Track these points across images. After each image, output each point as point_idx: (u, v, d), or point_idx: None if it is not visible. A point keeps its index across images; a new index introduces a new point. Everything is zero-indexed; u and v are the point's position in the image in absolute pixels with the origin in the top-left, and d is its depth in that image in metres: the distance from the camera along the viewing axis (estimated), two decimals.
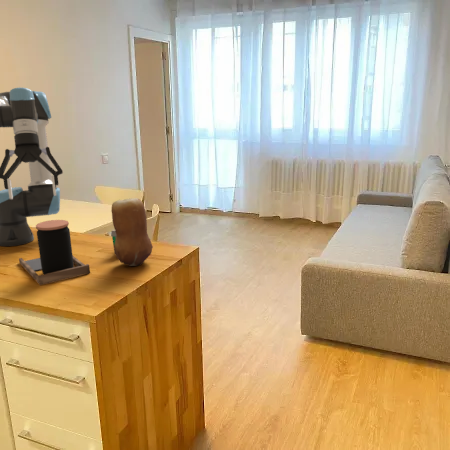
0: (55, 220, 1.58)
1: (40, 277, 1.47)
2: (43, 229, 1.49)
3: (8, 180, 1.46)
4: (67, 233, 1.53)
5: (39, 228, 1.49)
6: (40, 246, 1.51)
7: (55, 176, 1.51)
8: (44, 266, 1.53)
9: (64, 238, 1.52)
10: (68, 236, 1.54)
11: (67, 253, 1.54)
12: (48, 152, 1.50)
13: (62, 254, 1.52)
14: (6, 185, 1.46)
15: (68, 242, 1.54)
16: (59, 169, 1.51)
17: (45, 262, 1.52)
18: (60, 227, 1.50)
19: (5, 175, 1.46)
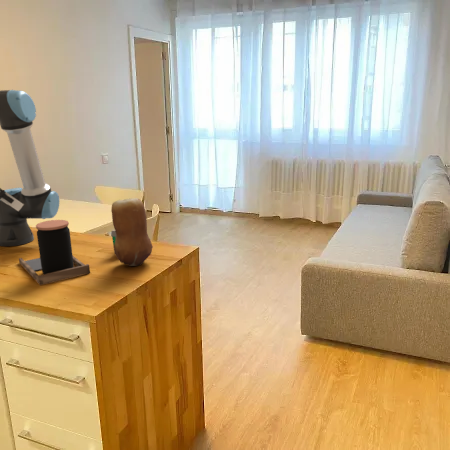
0: (55, 220, 1.58)
1: (40, 277, 1.47)
2: (43, 229, 1.49)
3: None
4: (67, 233, 1.53)
5: (39, 228, 1.49)
6: (40, 246, 1.51)
7: (2, 198, 1.35)
8: (44, 266, 1.53)
9: (64, 238, 1.52)
10: (68, 236, 1.54)
11: (67, 253, 1.54)
12: None
13: (62, 254, 1.52)
14: None
15: (68, 242, 1.54)
16: None
17: (45, 262, 1.52)
18: (60, 227, 1.50)
19: None
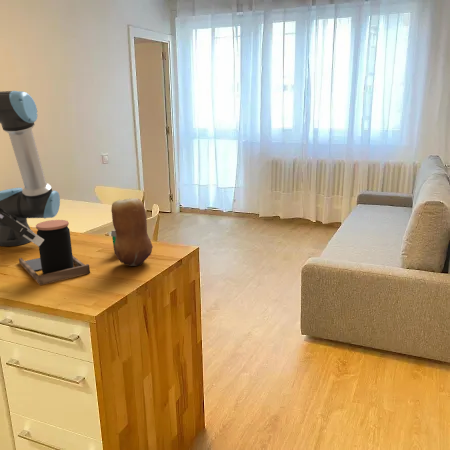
0: (55, 220, 1.58)
1: (40, 277, 1.47)
2: (43, 229, 1.49)
3: None
4: (67, 233, 1.53)
5: (39, 228, 1.49)
6: (40, 246, 1.51)
7: (24, 234, 1.40)
8: (44, 266, 1.53)
9: (64, 238, 1.52)
10: (68, 236, 1.54)
11: (67, 253, 1.54)
12: None
13: (62, 254, 1.52)
14: None
15: (68, 242, 1.54)
16: (19, 233, 1.38)
17: (45, 262, 1.52)
18: (60, 227, 1.50)
19: None
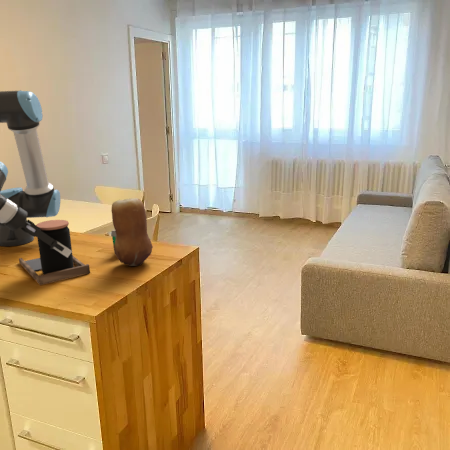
0: (55, 220, 1.58)
1: (40, 277, 1.47)
2: (43, 229, 1.49)
3: None
4: (67, 233, 1.53)
5: None
6: (40, 246, 1.51)
7: (54, 246, 1.49)
8: (44, 266, 1.53)
9: (64, 238, 1.52)
10: (68, 236, 1.54)
11: None
12: (31, 233, 1.44)
13: (62, 254, 1.52)
14: None
15: (68, 242, 1.54)
16: None
17: (45, 262, 1.52)
18: (60, 227, 1.50)
19: None
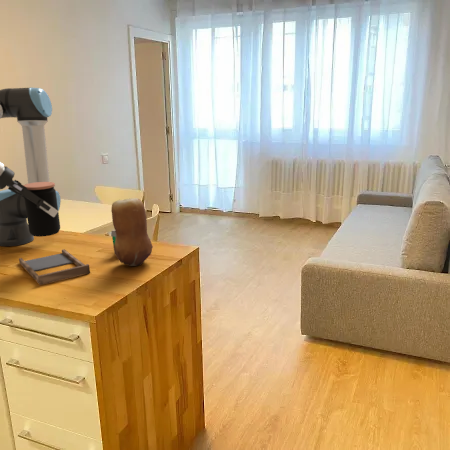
0: (42, 182, 1.62)
1: (40, 277, 1.47)
2: (30, 189, 1.54)
3: None
4: (53, 194, 1.58)
5: None
6: (27, 206, 1.56)
7: (41, 206, 1.54)
8: (31, 225, 1.58)
9: (51, 198, 1.57)
10: (54, 197, 1.59)
11: None
12: (18, 192, 1.49)
13: (48, 214, 1.57)
14: None
15: (54, 203, 1.59)
16: (36, 204, 1.51)
17: (32, 222, 1.57)
18: (46, 187, 1.55)
19: None
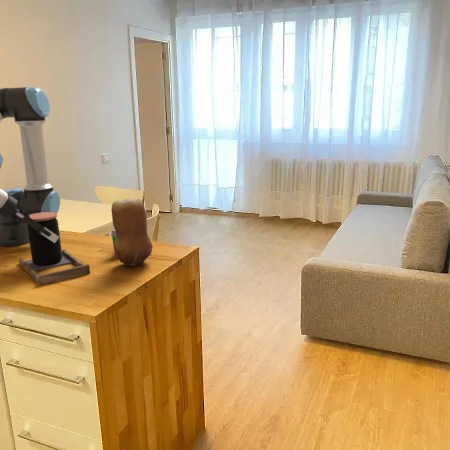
0: (44, 212, 1.67)
1: (40, 277, 1.47)
2: None
3: None
4: (55, 224, 1.63)
5: None
6: (30, 236, 1.61)
7: (42, 232, 1.57)
8: (34, 255, 1.63)
9: (53, 229, 1.62)
10: (56, 227, 1.64)
11: (55, 243, 1.64)
12: (20, 219, 1.53)
13: (50, 244, 1.62)
14: None
15: (56, 233, 1.64)
16: None
17: (34, 252, 1.62)
18: (49, 218, 1.60)
19: None
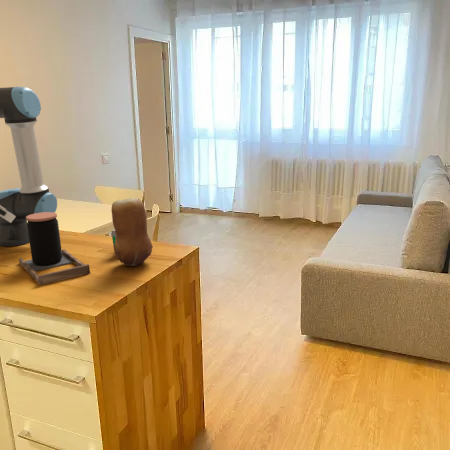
0: (44, 212, 1.67)
1: (40, 277, 1.47)
2: (32, 220, 1.59)
3: None
4: (55, 224, 1.63)
5: (29, 219, 1.59)
6: (30, 236, 1.61)
7: None
8: (34, 255, 1.63)
9: (53, 229, 1.62)
10: (56, 227, 1.64)
11: (55, 243, 1.64)
12: None
13: (50, 244, 1.62)
14: None
15: (56, 233, 1.64)
16: None
17: (34, 252, 1.62)
18: (49, 218, 1.60)
19: None
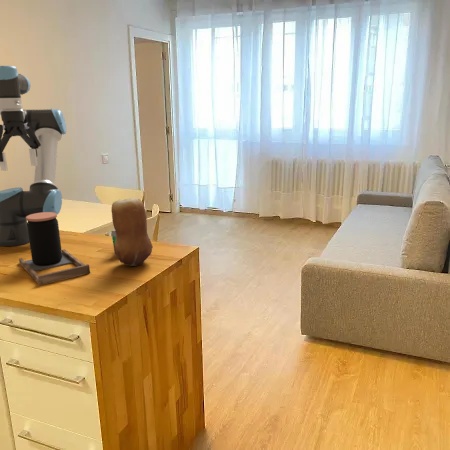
0: (44, 212, 1.67)
1: (40, 277, 1.47)
2: (32, 220, 1.59)
3: (4, 154, 1.61)
4: (55, 224, 1.63)
5: (29, 219, 1.59)
6: (30, 236, 1.61)
7: None
8: (34, 255, 1.63)
9: (53, 229, 1.62)
10: (56, 227, 1.64)
11: (55, 243, 1.64)
12: (30, 128, 1.70)
13: (50, 244, 1.62)
14: (1, 158, 1.61)
15: (56, 233, 1.64)
16: (38, 143, 1.74)
17: (34, 252, 1.62)
18: (49, 218, 1.60)
19: (1, 149, 1.60)
